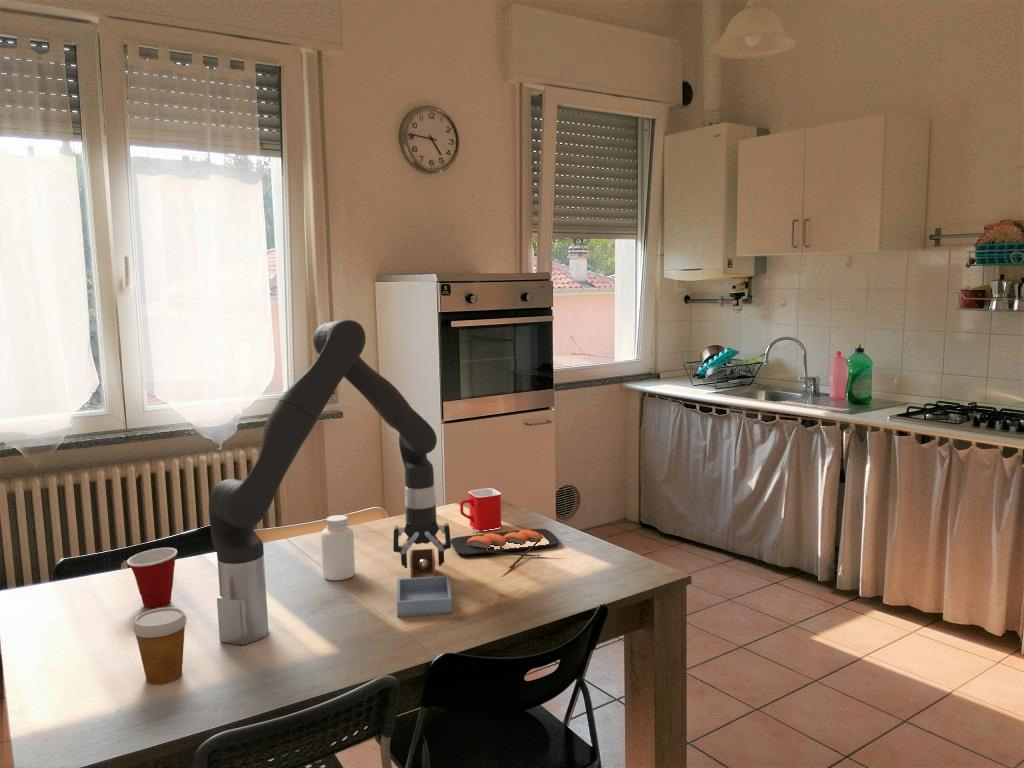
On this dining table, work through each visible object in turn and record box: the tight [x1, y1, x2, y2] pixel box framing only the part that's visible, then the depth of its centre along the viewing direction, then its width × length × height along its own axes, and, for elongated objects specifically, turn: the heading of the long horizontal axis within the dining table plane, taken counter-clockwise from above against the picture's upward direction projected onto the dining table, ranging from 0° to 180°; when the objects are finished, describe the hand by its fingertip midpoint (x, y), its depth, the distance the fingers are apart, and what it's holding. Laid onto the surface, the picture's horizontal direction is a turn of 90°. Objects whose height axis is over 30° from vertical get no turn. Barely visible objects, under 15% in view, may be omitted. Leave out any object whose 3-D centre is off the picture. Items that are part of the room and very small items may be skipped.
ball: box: [417, 559, 429, 571], centre depth 207 cm, size 3×3×3 cm
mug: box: [459, 487, 502, 531], centre depth 242 cm, size 12×8×11 cm
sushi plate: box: [450, 528, 560, 569], centre depth 220 cm, size 29×30×4 cm
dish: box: [396, 575, 453, 618], centre depth 188 cm, size 14×12×4 cm
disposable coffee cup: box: [131, 606, 188, 685], centre depth 155 cm, size 10×10×12 cm
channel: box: [409, 548, 436, 578], centre depth 205 cm, size 9×6×6 cm, turn 7°
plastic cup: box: [126, 547, 178, 610], centre depth 190 cm, size 11×11×12 cm
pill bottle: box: [320, 514, 356, 581], centre depth 206 cm, size 8×8×15 cm
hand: (423, 566), depth 205 cm, fingers open, 8 cm apart
